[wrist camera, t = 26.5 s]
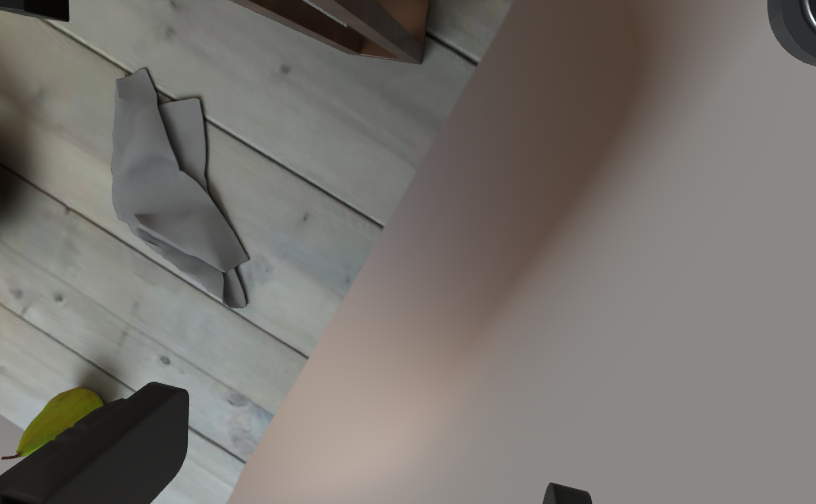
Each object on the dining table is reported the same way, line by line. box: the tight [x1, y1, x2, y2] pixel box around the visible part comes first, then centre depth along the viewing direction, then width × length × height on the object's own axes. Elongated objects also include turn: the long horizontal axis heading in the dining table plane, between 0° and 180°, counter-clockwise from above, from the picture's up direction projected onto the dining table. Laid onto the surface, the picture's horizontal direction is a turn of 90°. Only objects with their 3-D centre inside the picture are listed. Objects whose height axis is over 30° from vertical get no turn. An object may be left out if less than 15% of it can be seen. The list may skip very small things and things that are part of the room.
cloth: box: [111, 69, 249, 308], centre depth 51 cm, size 26×14×2 cm, turn 11°
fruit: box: [2, 387, 104, 460], centre depth 56 cm, size 6×6×12 cm
